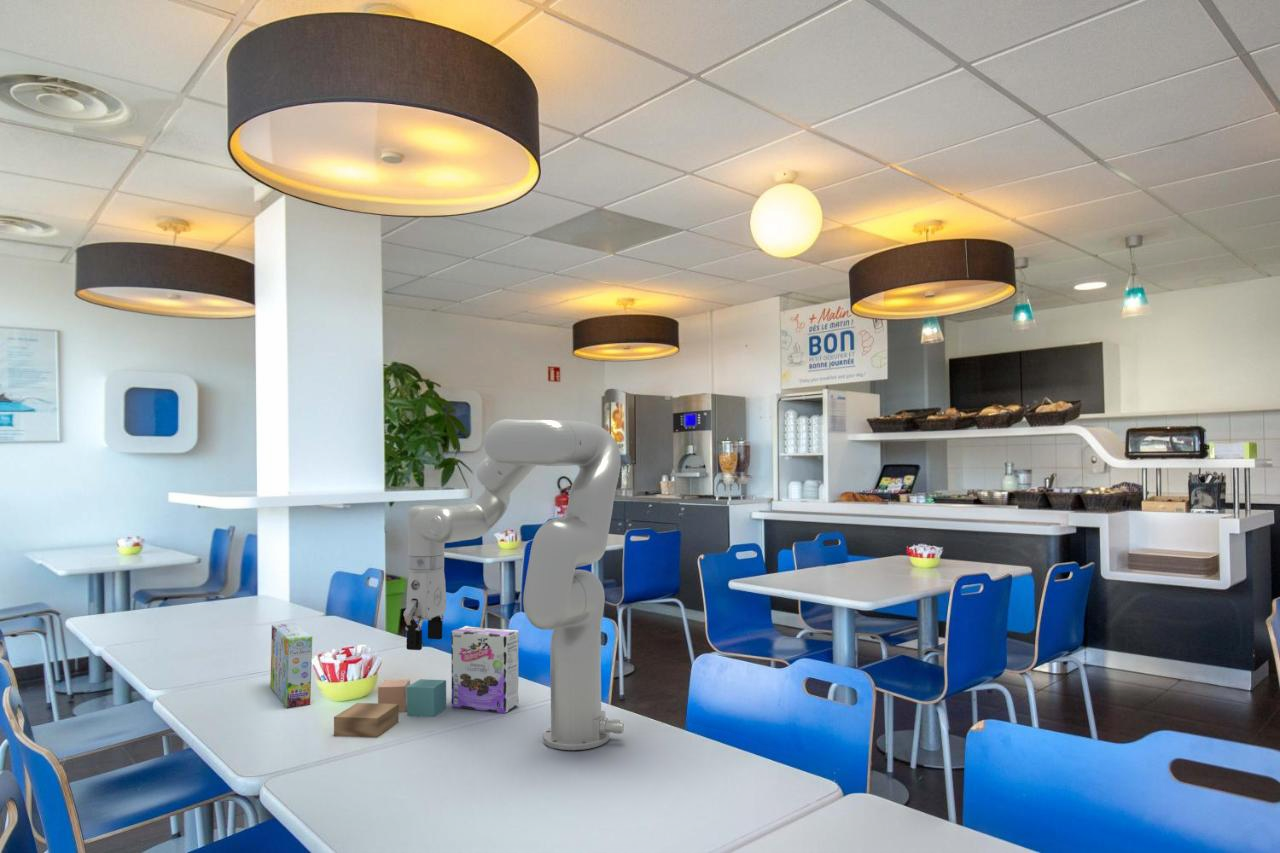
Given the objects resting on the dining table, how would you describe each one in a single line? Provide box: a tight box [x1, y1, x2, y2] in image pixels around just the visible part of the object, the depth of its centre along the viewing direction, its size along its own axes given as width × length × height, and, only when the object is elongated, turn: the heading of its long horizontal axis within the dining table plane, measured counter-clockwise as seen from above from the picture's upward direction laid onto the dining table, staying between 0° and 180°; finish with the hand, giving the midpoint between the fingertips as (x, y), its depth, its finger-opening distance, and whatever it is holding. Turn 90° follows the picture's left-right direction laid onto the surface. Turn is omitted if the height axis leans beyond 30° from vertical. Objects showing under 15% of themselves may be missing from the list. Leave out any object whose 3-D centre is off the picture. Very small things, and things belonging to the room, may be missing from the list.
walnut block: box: [333, 702, 400, 739], centre depth 157 cm, size 9×9×4 cm
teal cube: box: [406, 678, 447, 718], centre depth 168 cm, size 6×6×6 cm
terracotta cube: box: [377, 679, 411, 714], centre depth 170 cm, size 6×6×6 cm
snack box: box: [269, 621, 313, 709], centre depth 182 cm, size 21×6×15 cm, turn 34°
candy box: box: [451, 625, 519, 714], centre depth 171 cm, size 14×6×16 cm, turn 68°
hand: (424, 644), depth 169 cm, fingers open, 9 cm apart
